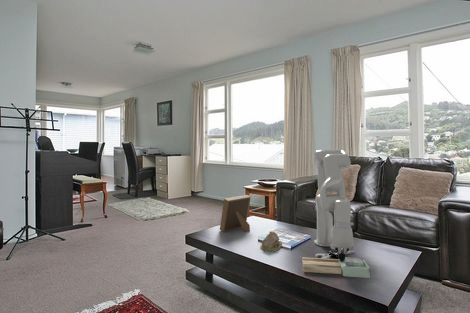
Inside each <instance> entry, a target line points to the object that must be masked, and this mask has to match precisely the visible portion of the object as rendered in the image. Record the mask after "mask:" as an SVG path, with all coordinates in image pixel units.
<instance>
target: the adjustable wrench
mask: <svg viewBox="0 0 470 313" xmlns="http://www.w3.org/2000/svg"><path fill="white" fill-rule="evenodd" d="M354 253H355V251H354V249H353V250H349V251H348V252H347V253H346V254H345V256H346V255H350V254H351V255H352V254H354ZM329 254H330V253H315V258H324V259H331V258H332V257H331V255H329Z"/></svg>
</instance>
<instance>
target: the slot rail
mask: <svg viewBox="0 0 470 313" xmlns="http://www.w3.org/2000/svg"><path fill="white" fill-rule="evenodd" d="M301 260H302V261H301V265H302V271H303V273H304V272H305V273H316V274H317V273H321V274H335V275H342V272H341V265H340V264H339V260H338V259H336V258H330V259H324V258H321V257H318V258H316V257H303V256H302V259H301Z"/></svg>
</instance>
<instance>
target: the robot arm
mask: <svg viewBox="0 0 470 313" xmlns="http://www.w3.org/2000/svg"><path fill="white" fill-rule="evenodd" d="M313 156H314V163H315V166H316V169H317V188H318V191H319V194H318V195H316V196H315V209H316V239H314V240H313V243H314V244H315V245H317V246H319V247H325V248H326V247H330V249H332V250H334V251H336V252H338V256H337V258H338V259H340V262H344V260H345V257H346V255H347V254H346V253H347V252H348V251H349V250H353V251H354V235H353V234H354V233H353V229H352V226H354V222H351V202H350V200H349V198H348V197H346V195H345V194H346V189H345V188H346V187H345V185H346V184H345V180H344V179H343V174H342V169H345V170H346V169H349V168H350V167H351V164H352V163H351V158H350V156H349V154H348V153H347V152H346V151H345V150H343V149H318V150H316V151H315V152H314V154H313ZM330 211H331V212H333V213H334V214H332V213H331V212H330ZM333 215H334V216H333ZM341 249H342V250H341ZM341 251H342V252H341ZM345 254H346V255H345Z"/></svg>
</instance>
